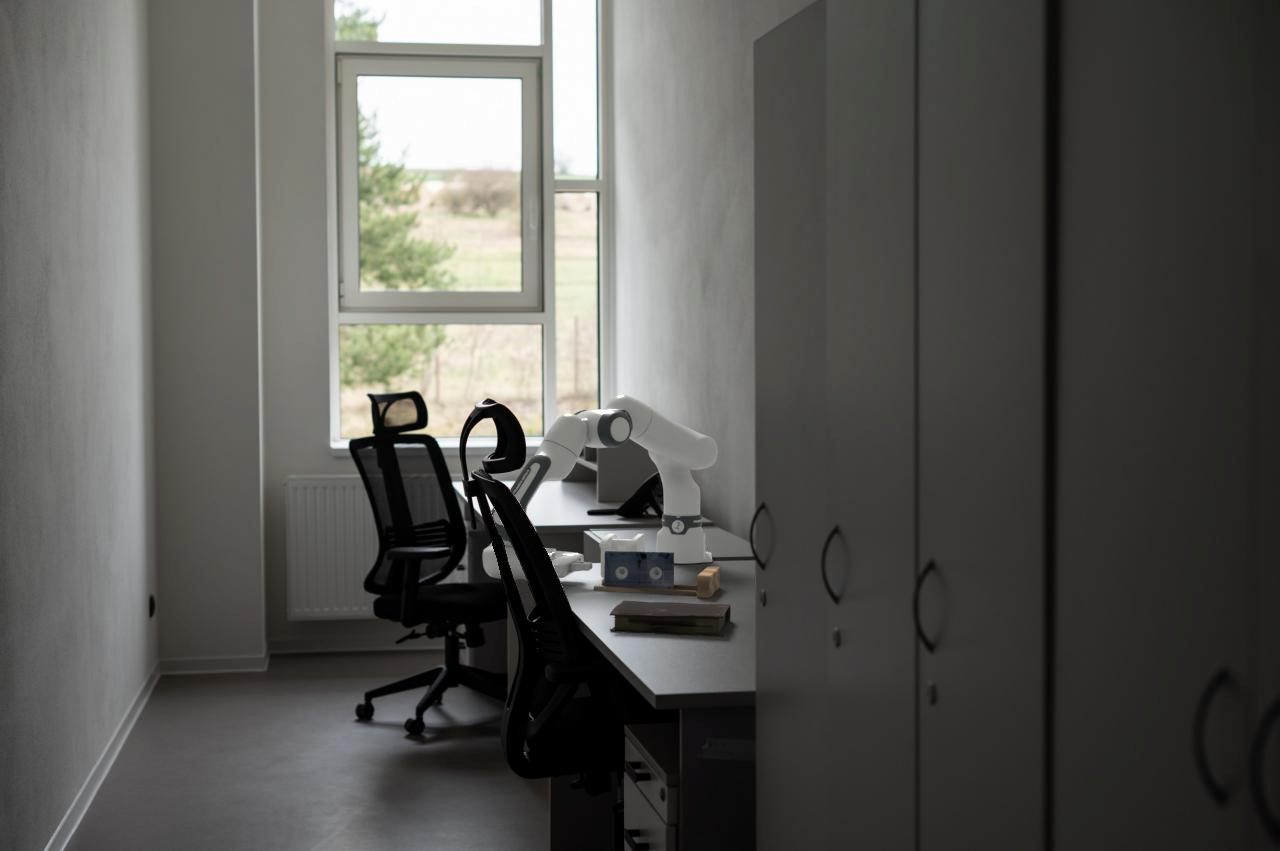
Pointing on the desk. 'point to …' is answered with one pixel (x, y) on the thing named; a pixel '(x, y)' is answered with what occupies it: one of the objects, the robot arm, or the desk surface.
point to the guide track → (679, 586)
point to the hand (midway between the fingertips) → (591, 566)
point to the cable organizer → (620, 546)
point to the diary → (671, 618)
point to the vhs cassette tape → (639, 569)
